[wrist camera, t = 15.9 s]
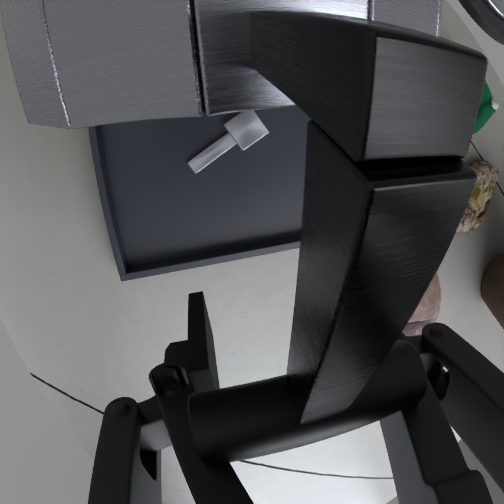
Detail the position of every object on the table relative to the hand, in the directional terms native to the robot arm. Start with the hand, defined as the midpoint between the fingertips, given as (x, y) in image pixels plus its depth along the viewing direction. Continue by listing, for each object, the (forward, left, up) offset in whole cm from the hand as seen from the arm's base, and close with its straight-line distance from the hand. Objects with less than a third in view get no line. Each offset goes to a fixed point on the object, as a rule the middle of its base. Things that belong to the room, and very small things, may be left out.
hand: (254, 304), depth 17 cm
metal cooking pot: (+11, -11, +8) cm, 18 cm away
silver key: (+6, -7, -10) cm, 14 cm away
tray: (+6, -6, -11) cm, 13 cm away
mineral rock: (-18, -20, -11) cm, 30 cm away
